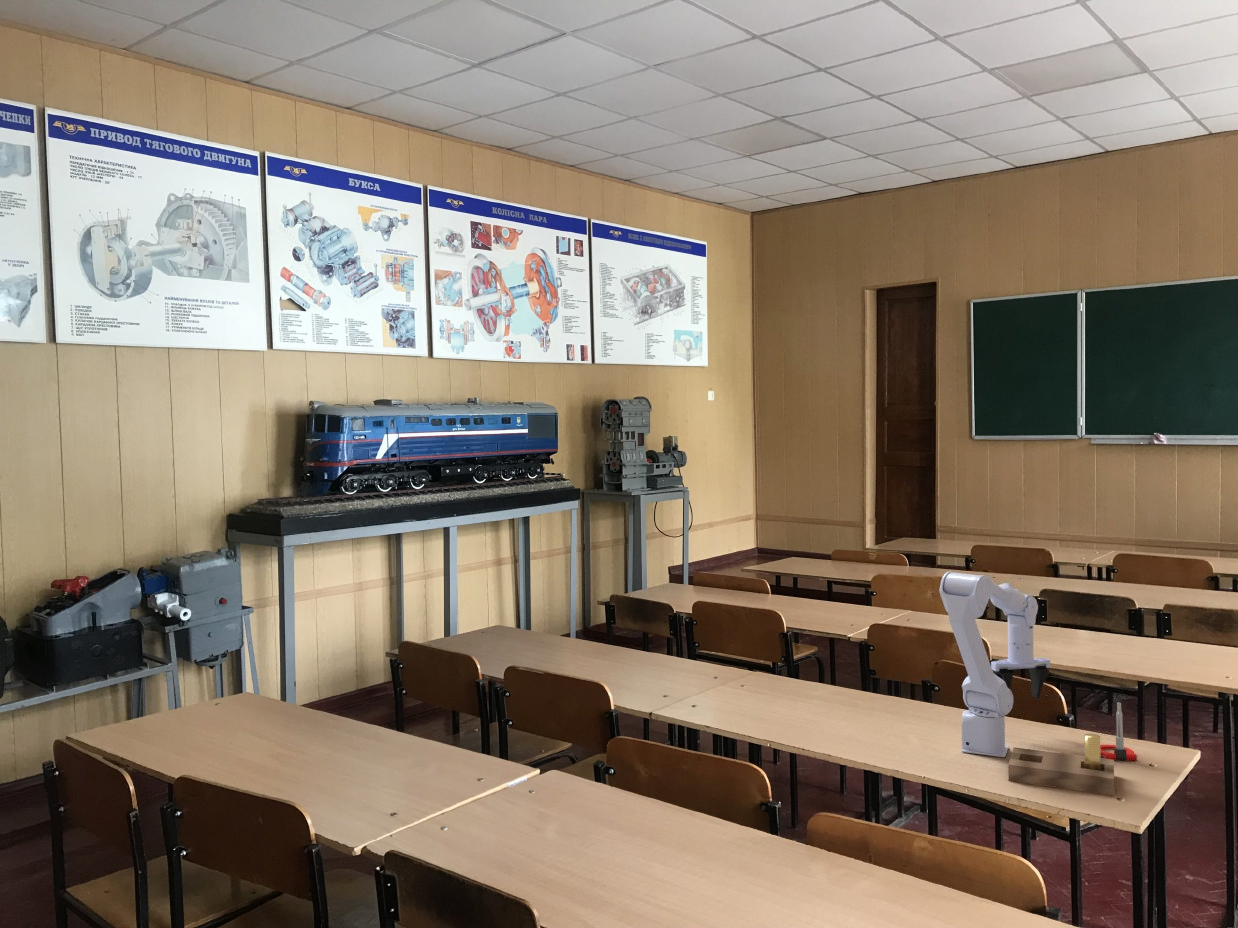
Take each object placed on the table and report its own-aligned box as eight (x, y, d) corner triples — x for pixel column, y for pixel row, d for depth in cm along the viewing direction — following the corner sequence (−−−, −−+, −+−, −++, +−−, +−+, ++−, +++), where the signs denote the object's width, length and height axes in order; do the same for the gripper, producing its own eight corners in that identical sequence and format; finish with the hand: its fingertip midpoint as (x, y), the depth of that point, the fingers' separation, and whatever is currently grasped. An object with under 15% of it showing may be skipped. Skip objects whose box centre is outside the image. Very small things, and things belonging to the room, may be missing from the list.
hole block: (1008, 780, 200) (1008, 764, 200) (1013, 762, 211) (1013, 747, 211) (1114, 795, 191) (1113, 778, 191) (1114, 775, 201) (1113, 759, 201)
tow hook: (1087, 748, 220) (1101, 760, 211) (1086, 693, 220) (1100, 703, 211) (1125, 749, 219) (1141, 761, 210) (1124, 694, 219) (1140, 704, 210)
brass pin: (1085, 783, 197) (1084, 736, 197) (1084, 778, 200) (1084, 732, 200) (1100, 785, 196) (1100, 738, 196) (1100, 780, 199) (1099, 734, 198)
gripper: (1002, 648, 223) (1002, 704, 223) (1057, 644, 225) (1058, 700, 225) (986, 641, 230) (986, 696, 230) (1040, 638, 232) (1040, 692, 232)
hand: (1021, 697), depth 228 cm, fingers open, 7 cm apart
